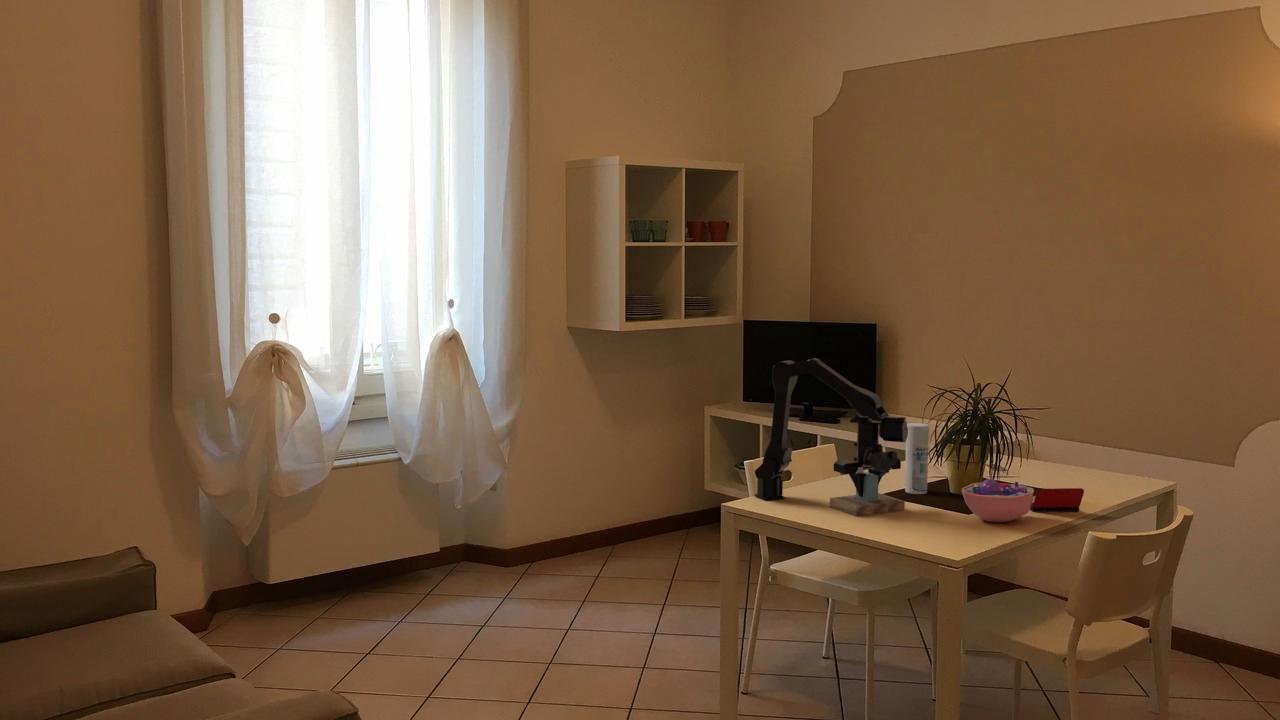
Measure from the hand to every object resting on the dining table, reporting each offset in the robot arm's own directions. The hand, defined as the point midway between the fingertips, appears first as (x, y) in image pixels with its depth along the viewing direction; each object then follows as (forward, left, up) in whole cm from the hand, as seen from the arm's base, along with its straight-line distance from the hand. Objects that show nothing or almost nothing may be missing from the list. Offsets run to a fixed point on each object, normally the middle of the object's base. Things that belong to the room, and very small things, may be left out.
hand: (866, 495), depth 277 cm
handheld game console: (+44, -23, -4) cm, 50 cm away
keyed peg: (0, 0, -2) cm, 2 cm away
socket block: (0, 0, -4) cm, 4 cm away
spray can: (+26, +11, -4) cm, 28 cm away
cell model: (+23, -25, -4) cm, 34 cm away
